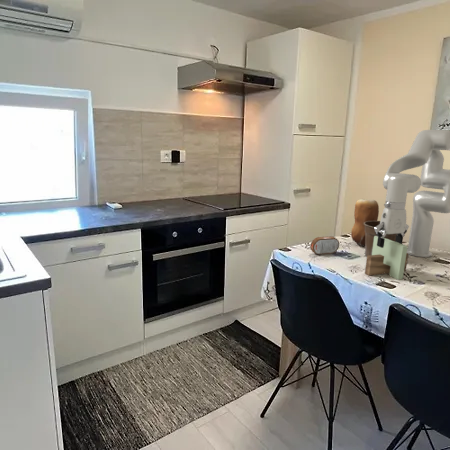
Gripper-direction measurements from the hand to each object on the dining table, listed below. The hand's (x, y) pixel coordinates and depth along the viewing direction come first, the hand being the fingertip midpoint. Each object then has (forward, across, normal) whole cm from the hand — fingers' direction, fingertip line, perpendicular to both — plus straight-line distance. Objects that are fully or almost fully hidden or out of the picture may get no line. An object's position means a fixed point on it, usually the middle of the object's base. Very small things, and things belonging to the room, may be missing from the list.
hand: (389, 245), depth 155 cm
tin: (+12, -10, +30) cm, 34 cm away
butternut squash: (+12, +19, +36) cm, 43 cm away
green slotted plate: (+12, 0, 0) cm, 12 cm away
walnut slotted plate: (+12, 0, 0) cm, 12 cm away
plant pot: (+12, +13, +18) cm, 25 cm away
